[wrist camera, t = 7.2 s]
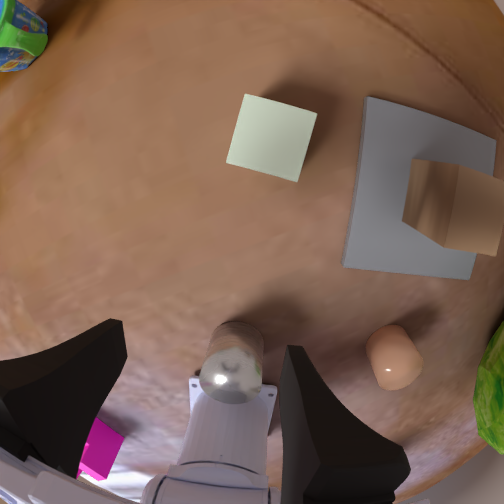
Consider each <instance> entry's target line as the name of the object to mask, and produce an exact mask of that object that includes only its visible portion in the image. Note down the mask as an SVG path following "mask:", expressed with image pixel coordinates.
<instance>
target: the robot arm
mask: <svg viewBox="0 0 504 504" xmlns="http://www.w3.org/2000/svg"><path fill="white" fill-rule="evenodd" d="M127 357H128V356H127V350H126V344H125V338H124V331H123V324H122V321H120V320H116V319H111V318H110V319H108V320H106V321H104V322H102V323H100V324H98V325H96V326H94V327H92V328H91V329H89V330H87V331H85V332H83V333H81V334H79V335H78V336H76V337H74V338H72V339H70V340H67V341H65V342H63V343H61V344H59V345H57V346H55V347H52V348H50V349H47V350H44V351H41V352H39V353H35V354H32V355H28V356H24V357H20V358H15V359H10V360H3V361H0V497H1V498H2V499H3V500H5V501H6V502H7V503H9V504H393V503H392V502H394V501H395V494H394V491H395V490H396V489H397V488H398V487H399V486H400V485H401V484H402V483H403V482H404V481H405V479H406V478H407V477H408V475H409V474H410V471H411V468H410V465H409V462H408V459H407V456H406V454H405V452H404V449H403V447H402V446H400V445H398V444H396V443H394V442H392V441H390V440H388V439H387V438H385V437H383V436H381V435H380V434H378V433H377V432H375V431H374V430H372V429H371V428H369V427H368V426H367V425H365V424H364V423H363V422H362V421H360V420H359V419H358V418H357V417H356V416H354V415H353V414H352V413H351V412H350V411H349V410H348V409H347V408H346V407H345V406H344V405H343V404H342V403H341V402H340V401H339V400H338V399H337V398H336V396H335V395H334V394H333V393H332V391H331V390H330V389H329V388H328V386H327V385H326V384H325V382H324V381H323V379H322V378H321V376H320V375H319V374H318V372H317V371H316V369H315V367H314V366H313V364H312V362H311V361H310V359H309V357H308V355H307V354H306V352H305V350H304V348H303V347H302V346H294V345H287V349H286V354H285V359H284V363H283V368H282V373H281V378H280V391H279V404H280V415H281V426H282V437H283V471H282V488H281V491H279V490H278V488H277V487H269V491H268V476H267V475H266V459H267V434H268V430H269V426H270V422H271V417H272V413H273V409H274V404H275V400H276V396H277V387H276V386H274V385H264V384H262V387H261V391H260V393H259V394H258V395H257V396H256V397H255V398H254V399H253V400H251V401H249V402H246V403H242V404H226V403H222V402H219V401H216V400H214V399H213V398H211V397H209V396H208V395H207V394H206V393H205V392H204V391H203V390H202V388H201V386H200V383H199V376H191V377H190V379H189V390H190V408H191V416H190V420H189V423H188V427H187V430H186V434H185V437H184V441H183V444H182V448H181V452H180V455H179V459H178V462H177V465H170V466H169V470H168V473H167V475H165V474H158V475H157V476H155V477H154V478H153V479H151V480H150V481H149V482H148V483H147V485H146V487H145V489H144V491H143V494H142V497H141V501H140V503H138V502H134V501H131V500H128V499H125V498H122V497H119V496H116V495H113V494H110V493H108V492H105V491H102V490H100V489H97V488H95V487H92V486H90V485H87V484H85V483H83V482H80V481H78V480H76V478H77V474H78V469H79V465H80V461H81V457H82V454H83V450H84V447H85V444H86V441H87V438H88V436H89V433H90V430H91V428H92V425H93V423H94V420H95V418H96V415H97V413H98V411H99V410H100V408H101V406H102V404H103V403H104V401H105V399H106V398H107V396H108V394H109V392H110V391H111V389H112V387H113V386H114V384H115V382H116V381H117V379H118V377H119V376H120V374H121V371H122V369H123V367H124V364H125V362H126V359H127ZM194 384H196V385H194ZM270 393H272V394H270ZM408 504H430V501H429V499H423V500H420V501H416V502H412V503H408Z"/></svg>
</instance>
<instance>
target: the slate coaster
mask: <svg viewBox="0 0 504 504" xmlns="http://www.w3.org/2000/svg"><path fill="white" fill-rule="evenodd" d="M495 152H496V140H494V139H492V138H490V137H488V136H485V135H483V134H481V133H479V132H476V131H474V130H471V129H469V128H467V127H464V126H462V125H459V124H457V123H454V122H451V121H449V120H446V119H443V118H440V117H438V116H435V115H432V114H429V113H426V112H423V111H420V110H416V109H413V108H410V107H407V106H403V105H400V104H396V103H393V102H389V101H385V100H381V99H377V98H373V97H369V96H367V97H365V98H364V106H363V118H362V129H361V138H360V147H359V156H358V164H357V171H356V179H355V186H354V193H353V199H352V205H351V212H350V218H349V223H348V229H347V235H346V240H345V245H344V250H343V256H342V261H341V264H342V266H343V267H345V268H355V269H364V270H374V271H383V272H393V273H403V274H412V275H422V276H432V277H442V278H452V279H462V280H469V279H470V276H471V273H472V269H473V266H474V263H475V259H476V256H477V253H473V252H467V251H461V250H455V249H449V248H443V247H442V246H440V245H439V244H437V243H436V242H434V241H433V240H431V239H430V238H428V237H426V236H425V235H423V234H422V233H420V232H419V231H417V230H415V229H414V228H412V227H410V226H409V225H407V224H406V223H404V222H402V217H403V211H404V206H405V200H406V194H407V188H408V182H409V175H410V168H411V160H412V159H420V160H429V161H437V162H444V163H451V164H458V165H462V166H465V167H468V168H471V169H474V170H476V171H479V172H482V173H485V174H487V175H490V176H493V171H494V162H495Z"/></svg>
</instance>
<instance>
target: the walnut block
mask: <svg viewBox="0 0 504 504" xmlns="http://www.w3.org/2000/svg"><path fill="white" fill-rule="evenodd" d="M402 222H404V223H406V224H407V225H409V226H410V227H412V228H414V229H415V230H417V231H419V232H420V233H422V234H423V235H425V236H426V237H428V238H430V239H431V240H433V241H434V242H436V243H437V244H439V245H440V246H442V247H443V248H449V249H455V250H461V251H467V252H473V253H479V254H485V255H491V256H496V254H497V250H498V246H499V242H500V238H501V234H502V230H503V226H504V181H503V180H500V179H498V178H495V177H493V176H490V175H487V174H485V173H482V172H479V171H476V170H474V169H471V168H468V167H465V166H462V165H458V164H451V163H444V162H437V161H429V160H420V159H412V160H411V168H410V175H409V182H408V188H407V194H406V200H405V206H404V211H403V217H402Z"/></svg>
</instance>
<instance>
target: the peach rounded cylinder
mask: <svg viewBox="0 0 504 504" xmlns="http://www.w3.org/2000/svg"><path fill="white" fill-rule="evenodd" d="M365 349H366V354H367V356H368V359H369V361H370V364H371V366H372V369H373V371H374V374H375V376H376V379H377V382H378V384H379V386H380V387H381V388H383V389H385V390H398V389H401V388H404V387H406V386H407V385H409V384H411V383H412V382H413V381H414V380H415V379H416V378H417V377H418V376H419V374H420V373H421V371H422V368H423V359H422V357H421V355H420V354H419V352H418V350H417V349H416V347H415V346H414V344H413V342H412V341H411V339H410V338H409V336H408V335H407V333H406V331H405V330H404V329H403V328H402V327H400V326H398V325H387V326H384V327H382V328H380V329H378V330H377V331H375V332H374V333H373V334H372V335H371V336H370V338H369V339H368V341H367V343H366V348H365Z"/></svg>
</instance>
